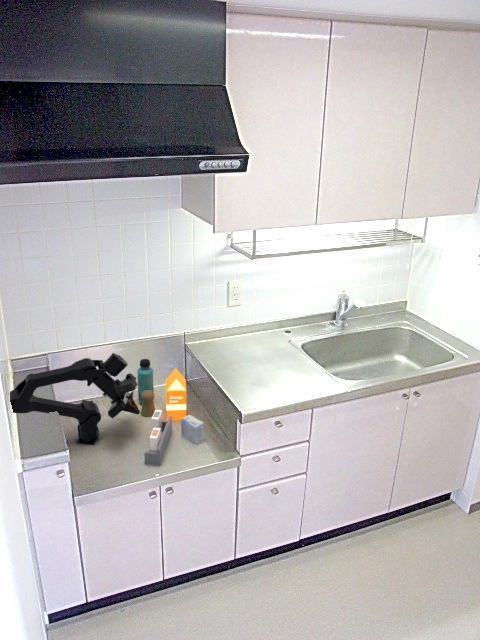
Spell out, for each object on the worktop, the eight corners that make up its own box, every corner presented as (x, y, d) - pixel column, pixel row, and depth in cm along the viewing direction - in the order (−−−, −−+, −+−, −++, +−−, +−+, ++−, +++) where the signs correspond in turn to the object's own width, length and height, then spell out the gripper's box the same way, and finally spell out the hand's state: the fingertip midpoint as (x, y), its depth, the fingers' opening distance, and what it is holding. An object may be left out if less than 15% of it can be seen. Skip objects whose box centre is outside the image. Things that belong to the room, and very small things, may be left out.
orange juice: (166, 423, 214) (165, 378, 205) (166, 410, 222) (165, 367, 213) (186, 422, 215) (186, 378, 206) (185, 410, 223) (185, 366, 214)
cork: (149, 409, 222) (148, 386, 217) (159, 415, 218) (158, 391, 214) (137, 416, 217) (136, 392, 213) (147, 422, 214) (146, 397, 210)
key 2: (152, 441, 201) (151, 418, 196) (156, 432, 206) (155, 409, 202) (159, 442, 200) (158, 419, 196) (162, 432, 206) (162, 409, 202)
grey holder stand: (139, 466, 190) (138, 447, 187) (153, 432, 208) (152, 414, 205) (160, 468, 189) (159, 449, 186) (172, 434, 208) (171, 416, 204)
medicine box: (204, 442, 204) (204, 422, 200) (195, 447, 201) (195, 427, 197) (189, 433, 209) (189, 413, 205) (180, 438, 205) (180, 418, 202)
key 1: (150, 461, 190) (149, 437, 186) (154, 450, 196) (153, 427, 192) (157, 462, 190) (156, 438, 186) (161, 451, 196) (160, 427, 192)
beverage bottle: (149, 397, 230) (147, 355, 222) (157, 404, 226) (156, 361, 217) (135, 402, 226) (133, 359, 218) (143, 409, 222) (141, 366, 214)
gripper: (115, 385, 185) (148, 415, 189) (129, 359, 202) (159, 387, 206) (93, 403, 189) (127, 433, 193) (109, 376, 206) (139, 404, 210)
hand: (139, 413), depth 200 cm, fingers closed
